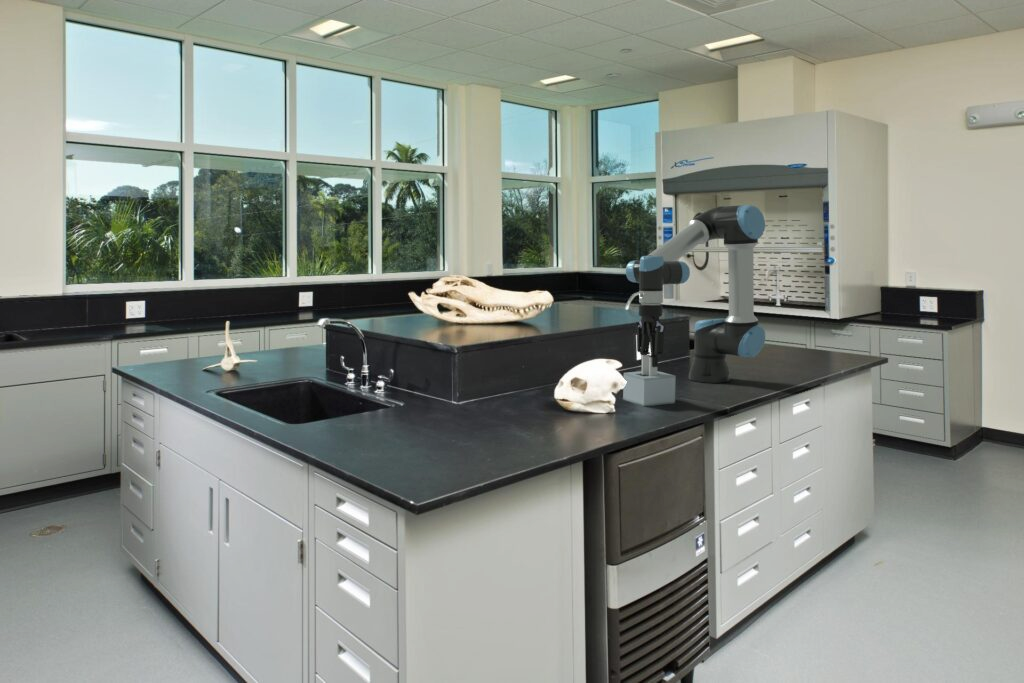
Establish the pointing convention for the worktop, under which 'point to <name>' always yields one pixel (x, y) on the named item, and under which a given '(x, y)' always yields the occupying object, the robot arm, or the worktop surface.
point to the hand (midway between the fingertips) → (649, 375)
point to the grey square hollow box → (649, 388)
